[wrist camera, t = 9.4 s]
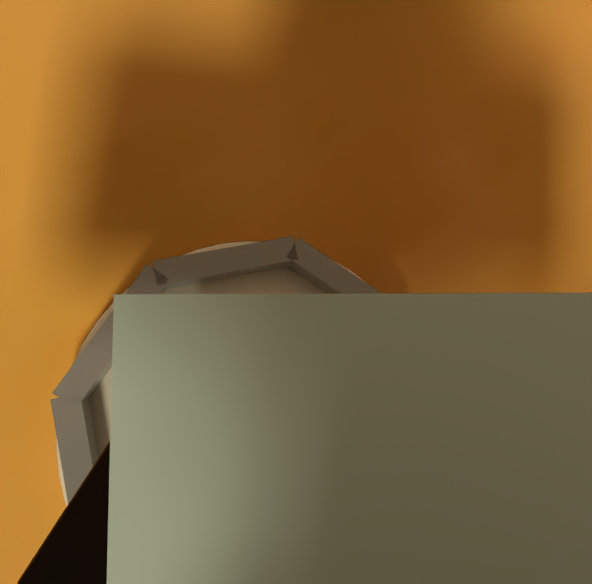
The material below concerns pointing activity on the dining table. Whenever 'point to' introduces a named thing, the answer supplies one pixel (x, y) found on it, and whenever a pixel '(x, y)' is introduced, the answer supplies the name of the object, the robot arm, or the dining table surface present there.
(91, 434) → the coaster
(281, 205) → the dining table surface
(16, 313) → the dining table surface
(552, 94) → the dining table surface
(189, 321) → the gray block
